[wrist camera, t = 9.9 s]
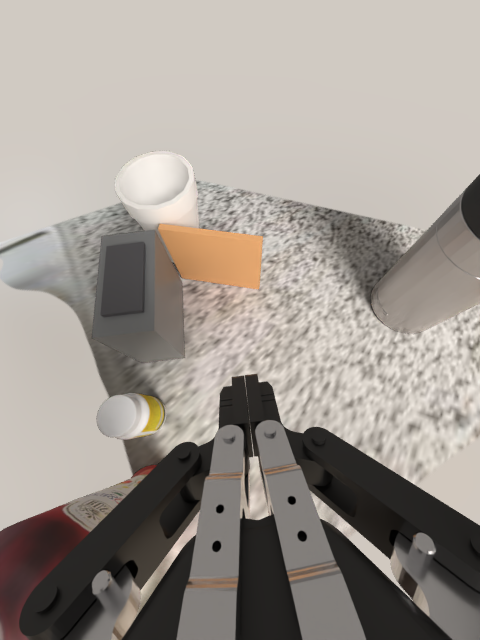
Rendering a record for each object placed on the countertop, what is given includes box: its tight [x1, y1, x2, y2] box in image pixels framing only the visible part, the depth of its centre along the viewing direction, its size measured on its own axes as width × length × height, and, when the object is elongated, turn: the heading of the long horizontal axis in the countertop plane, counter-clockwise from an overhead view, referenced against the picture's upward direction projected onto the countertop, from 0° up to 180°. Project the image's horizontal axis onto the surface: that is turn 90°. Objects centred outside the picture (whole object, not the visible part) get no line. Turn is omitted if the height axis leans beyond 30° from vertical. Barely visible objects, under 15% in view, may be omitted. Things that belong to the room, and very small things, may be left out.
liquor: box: [0, 465, 157, 640], centre depth 17 cm, size 7×7×28 cm
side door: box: [158, 224, 263, 289], centre depth 34 cm, size 1×12×11 cm, turn 79°
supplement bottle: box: [97, 393, 166, 440], centre depth 29 cm, size 5×5×8 cm
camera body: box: [92, 230, 185, 363], centre depth 32 cm, size 6×12×13 cm, turn 7°
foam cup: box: [115, 151, 200, 262], centre depth 36 cm, size 10×9×13 cm
